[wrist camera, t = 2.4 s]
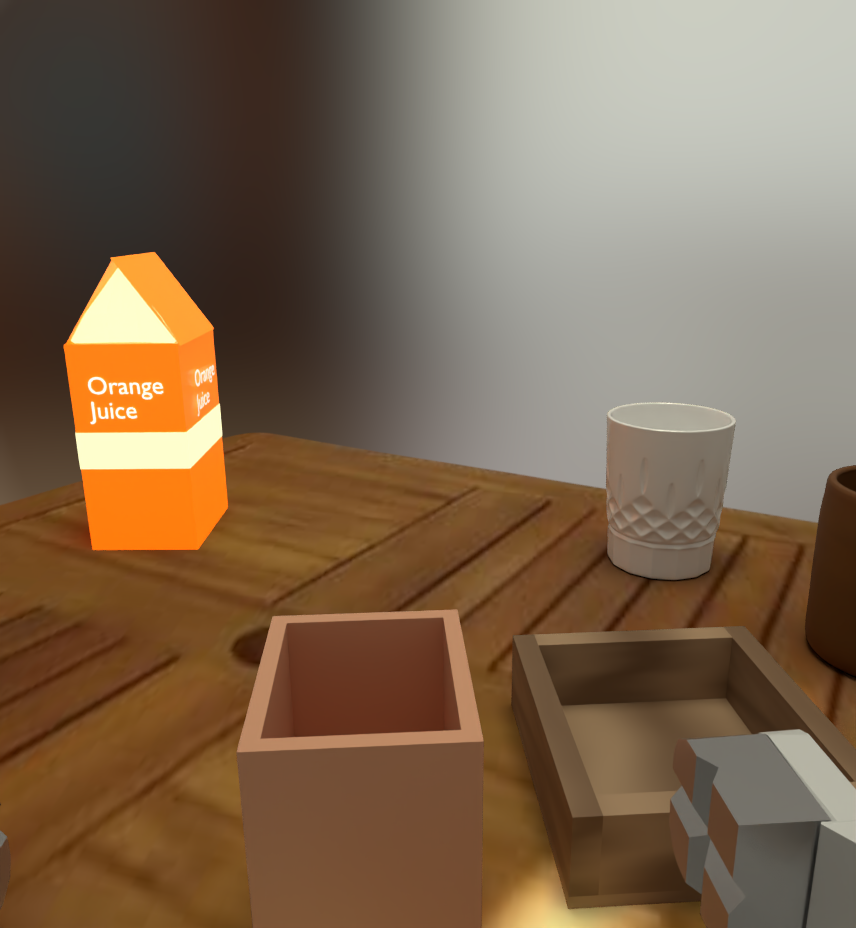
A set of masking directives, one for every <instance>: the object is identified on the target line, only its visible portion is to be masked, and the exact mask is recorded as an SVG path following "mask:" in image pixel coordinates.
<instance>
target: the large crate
mask: <svg viewBox="0 0 856 928" xmlns="http://www.w3.org/2000/svg"><path fill="white" fill-rule="evenodd" d="M512 708H513V711H514V715H515V719H516V722H517V726H518V729H519V733H520V737H521V740H522V744H523V747H524V751H525V755H526V758H527V762H528V765H529V769H530V773H531V776H532V780H533V783H534V787H535V791H536V794H537V798H538V801H539V805H540V809H541V812H542V816H543V819H544V823H545V827H546V830H547V834H548V837H549V841H550V845H551V848H552V852H553V855H554V859H555V863H556V866H557V870H558V873H559V877H560V881H561V884H562V888H563V891H564V895H565V899H566V902H567V906H568V909H574V908H591V907H608V906H625V905H642V904H659V903H676V902H693V901H701V898H702V894H700V893H699V892H698V891H696V890H695V889H694V888H692V887H691V886H689V885H688V884H687V883H685V880H684V878H683V876H682V874H681V871H680V869H679V867H678V864H677V861H676V858H675V854H674V851H673V848H672V841H671V833H670V825H669V817H670V799H671V798H672V797H673V795H674V794H675V793H676V792H677V791H678V789H679V788H680V787H681V786H682V785H681V783H680V781H679V779H678V777H677V775H676V773H675V771H674V770H673V759H674V750H675V747H676V744H677V741H678V739H685V738H701V737H717V736H733V735H749V734H759V733H760V732H772V731H784V730H796V729H800V730H802V731H804V732H806V733H808V734H809V735H810V736H811V737H812V739H813V740H814V741H815V742H816V743H817V744H818V746H819V747H820V748H821V749H822V750H823V751H824V753H825V754H826V755H827V756H828V757H829V758H830V760H831V761H832V762H833V763H834V764H835V765H836V767H837V768H838V769H839V770H840V771H841V772H842V774H843V775H844V776H845V777H846V778H847V779H848V781H849V782H850V783H851V784H852V785H853V786H854V788H855V789H856V749H855V748H854V747H853V746H852V745H851V744H850V743H849V742H848V740H847V739H846V738H845V737H844V736H843V735H842V734H841V733H840V732H839V730H838V729H837V728H836V727H835V726H834V725H833V724H832V723H831V722H830V721H829V719H828V718H827V717H826V716H825V715H824V714H823V713H822V712H821V711H820V709H819V708H818V707H817V706H816V705H815V704H814V703H813V702H812V701H811V700H810V698H809V697H808V696H807V695H806V694H805V693H804V692H803V691H802V690H801V688H800V687H799V686H798V685H797V684H796V683H795V682H794V681H793V680H792V678H791V677H790V676H789V675H788V674H787V673H786V672H785V671H784V670H783V669H782V667H781V666H780V665H779V664H778V663H777V662H776V661H775V660H774V659H773V657H772V656H771V655H770V654H769V653H768V652H767V651H766V650H765V649H764V648H763V646H762V645H761V644H760V643H759V642H758V641H757V640H756V639H755V638H754V636H753V635H752V634H751V633H750V632H749V631H748V630H747V629H746V628H745V626H736V627H712V628H687V629H662V630H637V631H612V632H588V633H563V634H538V635H513V657H512Z"/></svg>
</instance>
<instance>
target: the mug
mask: <svg viewBox="0 0 856 928" xmlns="http://www.w3.org/2000/svg"><path fill="white" fill-rule="evenodd" d="M805 630H806V637H807V640H808V642H809V644H810V646H811V647H812V649H813V650H814V651H815V652H816V653H817V654H818V655H819V656H820V657H821V658H823V659H824V660H825V661H827V662H828V663H829V664H831V665H833V666H834V667H836V668H838V669H840V670H842V671H844V672H846V673H848V674H850V675H853V676H855V677H856V465H853V466H847V467H842V468H839V469H836V470H835V471H833V472H832V473H831V474H830V475H829V477H828V479H827V483H826V488H825V493H824V497H823V501H822V505H821V509H820V515H819V522H818V529H817V536H816V543H815V551H814V558H813V565H812V573H811V582H810V590H809V598H808V605H807V612H806V624H805Z"/></svg>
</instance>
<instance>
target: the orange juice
mask: <svg viewBox="0 0 856 928" xmlns="http://www.w3.org/2000/svg"><path fill="white" fill-rule="evenodd" d="M111 259H112V261H111V263H110V265H109V267H108V268H107V270H106V272H105V274H104V276H103V278H102V279H101V281H100V283H99V285H98V287H97V288H96V290H95V292H94V294H93V296H92V298H91V299H90V301H89V303H88V305H87V307H86V309H85V310H84V312H83V314H82V316H81V318H80V320H79V321H78V323H77V325H76V327H75V329H74V331H73V333H72V334H71V336H70V338H69V340H68V342H67V343H66V344H64V350H65V357H66V364H67V371H68V379H69V386H70V393H71V400H72V407H73V414H74V421H75V428H76V433H75V434H76V441H77V448H78V455H79V462H80V469H81V471H82V478H83V485H84V492H85V499H86V507H87V514H88V521H89V528H90V535H91V542H92V549H93V550H180V549H199V547H200V546H201V545H202V543H203V542H204V540H205V539H206V537H207V536H208V535H209V533H210V532H211V530H212V529H213V528H214V526H215V525H216V523H217V522H218V521H219V519H220V518H221V516H222V515H223V514H224V512H225V511H226V509H227V508H228V502H227V491H226V479H225V468H224V456H223V444H222V426H221V414H220V404H219V398H218V387H217V375H216V364H215V353H214V340H213V329H214V328H213V326H212V325H211V324H210V323H209V321H208V320H207V319H206V317H205V316H204V315H203V314H202V312H201V311H200V310H199V308H198V307H197V306H196V305H195V303H194V302H193V301H192V300H191V298H190V297H189V296H188V294H187V293H186V292H185V290H184V289H183V288H182V287H181V285H180V284H179V283H178V281H177V280H176V279H175V278H174V276H173V275H172V274H171V273H170V271H169V270H168V269H167V267H166V266H165V265H164V264H163V262H162V261H161V260H160V258H159V257H158V256H157V255H156V253H155V252H152V253H145V254H137V255H129V256H121V257H113V258H111Z"/></svg>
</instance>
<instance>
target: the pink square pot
mask: <svg viewBox="0 0 856 928" xmlns="http://www.w3.org/2000/svg"><path fill="white" fill-rule="evenodd" d="M483 748H484V741H483V736H482V731H481V726H480V721H479V716H478V711H477V706H476V701H475V696H474V691H473V686H472V681H471V676H470V671H469V666H468V661H467V656H466V651H465V646H464V641H463V636H462V631H461V626H460V621H459V616H458V611H457V610H435V611H407V612H379V613H352V614H324V615H296V616H273V617H272V621H271V625H270V629H269V633H268V636H267V640H266V644H265V648H264V651H263V655H262V659H261V663H260V666H259V670H258V674H257V678H256V681H255V685H254V689H253V693H252V696H251V700H250V704H249V708H248V711H247V715H246V719H245V723H244V727H243V730H242V734H241V738H240V742H239V745H238V749H237V762H238V773H239V783H240V794H241V805H242V816H243V827H244V838H245V848H246V859H247V870H248V881H249V892H250V903H251V913H252V924H253V928H481V921H482V835H483Z"/></svg>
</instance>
